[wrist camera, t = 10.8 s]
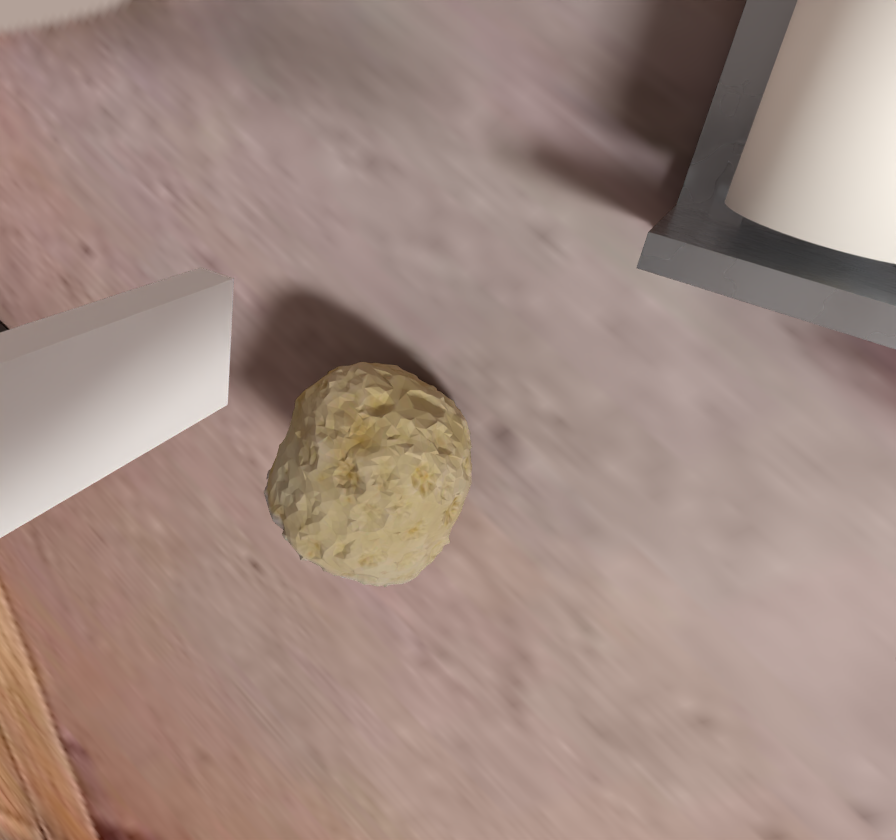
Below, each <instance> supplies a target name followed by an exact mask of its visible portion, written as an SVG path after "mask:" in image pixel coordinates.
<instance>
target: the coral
mask: <svg viewBox="0 0 896 840" xmlns="http://www.w3.org/2000/svg"><path fill="white" fill-rule="evenodd" d="M471 447H472V446H471V440H470V431H469V429H468V425H467V422H466V420H465V418H464V416H463V415H462V413H461V411H460V410H459V409H458V408H457V407H456V406H455V403H454V401H453V400H451V399H449V398H448V397H446V396H445V395H444V394H443V393H442V392H440V391H437V389H436V388H435V387H434V386H433V385H428V384H427V383H425V382H423V381H421V380H419V379H418V377H417V376H416V375H414V374H412V373H409V372H407V371H405V370H402V369H401V368H400V367H398V366H397V365H389V364H380V363H367V362H358V363H356V364H352V365H350V366H341V367H340V366H339V367H337V368H335V369H333V370H331V371H328V374H327V375H326V376H324V377H323V378H321V379H320V380H319V381H317V382H316V383H315V384H313V385H312V386H310V387H309V388H307V389H306V390H304V391H303V392H302V393H301V395H300V396H299V397H298V398H297V399H296V400H295V408H294V411H293V414H292V420H291V423H290V427H289V430H288V432H287V435H286V438H285V439H284V440H283V442H282V443H281V444H280V445H279V449H278V453H277V456H276V459H275V461H274V463H273V466H272V468H271V469H270V470H269V471H268V474H267V479H268V482H267V486H266V488H265V490H264V494H265V497H266V501H267V505H268V508H269V512H270V515H271V517H272V519H273V521H274V522H275V523H276V524H277V525H278V526H279V527H281V528H282V529H283V530H284V531H283V533H282V535H283V537H284V538H285V540H287V541H288V542H289V543H290V544H291V545H292V547H293V548H294V549H295V550H296V552H297V553H298V554H299V556H300V559H301V560H306V561H310V562H312V563H314V564H316V565H318V566H320V567H321V568H322V569H323V571H325V572H328V573H331V574H332V575H334V576H340V577H343V578H347V579H351V580H354V581H358V582H360V583H362V584H364V585H374V586H384V587H386V586H389V585H392V584H405V583H407V582H409V581H411V580H412V579H414V578H415V577H417V576H418V575H419V573H420V572H421V571H422V570H423V569H424V568H425V567H426V566H427V565H429V564H430V563H432V562H433V561H434V558H435V557H436V556H437V555H438V554H439V553H440V552H441V551H442V549H443V546H444V545H446V544H448V543H450V541H449V534H450V532H451V528H452V526H453V525H454V523H455V521H456V520H457V518H458V516H459V514H460V512H461V510H462V507H463V504H464V501H465V498H466V496H467V494H468V491H469V488H470V485H471V470H472V464H471V455H470V454H471V452H470V449H471ZM267 479H266V480H267Z"/></svg>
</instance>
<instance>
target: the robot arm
mask: <svg viewBox="0 0 896 840" xmlns="http://www.w3.org/2000/svg"><path fill="white" fill-rule="evenodd" d="M233 288H234V278H231V277H228V276H225V275H222V274H219V273H216V272H213V271H210V270H207V269H204V268H198V269H195V270H192V271H189V272H185V273H182V274H179V275H176V276H173V277H170V278H167V279H164V280H161V281H158V282H155V283H151V284H148V285H145V286H142V287H139V288H136V289H133V290H130V291H127V292H124V293H121V294H118V295H114V296H111V297H108V298H105V299H102V300H99V301H96V302H93V303H90V304H87V305H84V306H80V307H77V308H74V309H71V310H68V311H65V312H62V313H59V314H56V315H53V316H50V317H47V318H43V319H40V320H37V321H34V322H31V323H28V324H25V325H22V326H19V327H16V328H13V329H9V330H7V329H6V328H5V327H4V326H3V325H2V324H1V323H0V538H1V537H3V536H4V535H6V534H8V533H10V532H11V531H13V530H15V529H16V528H18V527H20V526H22V525H23V524H25V523H27V522H28V521H30V520H32V519H33V518H35V517H37V516H39V515H40V514H42V513H44V512H45V511H47V510H49V509H51V508H52V507H54V506H56V505H57V504H59V503H61V502H62V501H64V500H66V499H68V498H69V497H71V496H73V495H74V494H76V493H78V492H79V491H81V490H83V489H85V488H86V487H88V486H90V485H91V484H93V483H95V482H97V481H98V480H100V479H102V478H103V477H105V476H107V475H108V474H110V473H112V472H114V471H115V470H117V469H119V468H120V467H122V466H124V465H126V464H127V463H129V462H131V461H132V460H134V459H136V458H137V457H139V456H141V455H143V454H144V453H146V452H148V451H149V450H151V449H153V448H155V447H156V446H158V445H160V444H161V443H163V442H165V441H166V440H168V439H170V438H172V437H173V436H175V435H177V434H178V433H180V432H182V431H183V430H185V429H187V428H189V427H190V426H192V425H194V424H195V423H197V422H199V421H201V420H202V419H204V418H206V417H207V416H209V415H211V414H212V413H214V412H216V411H218V410H219V409H221V408H223V407H224V406H226V405H228V387H229V367H230V347H231V328H232V308H233Z"/></svg>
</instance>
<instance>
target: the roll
mask: <svg viewBox="0 0 896 840" xmlns="http://www.w3.org/2000/svg"><path fill="white" fill-rule="evenodd" d="M724 202H725V204H726V205H727V207H729V208H730V209H731V210H733V211H734V212H736V213H738V214H739V215H741V216H743V217H745V218H747V219H749V220H752V221H754V222H756V223H758V224H761V225H763V226H766V227H768V228H771V229H773V230H776V231H779V232H781V233H784V234H787V235H790V236H793V237H795V238H798V239H802V240H805V241H808V242H811V243H814V244H817V245H821V246H824V247H827V248H831V249H834V250H838V251H842V252H845V253H849V254H853V255H857V256H861V257H865V258H870V259H874V260H878V261H883V262H888V263H893V264H896V0H797V3H796V6H795V9H794V11H793V14H792V17H791V20H790V22H789V25H788V28H787V31H786V33H785V36H784V39H783V42H782V44H781V47H780V50H779V53H778V55H777V58H776V61H775V64H774V66H773V69H772V72H771V75H770V77H769V80H768V83H767V86H766V88H765V91H764V94H763V97H762V100H761V102H760V105H759V108H758V111H757V113H756V116H755V119H754V122H753V124H752V127H751V130H750V133H749V135H748V138H747V141H746V144H745V146H744V149H743V152H742V155H741V157H740V160H739V163H738V166H737V168H736V171H735V174H734V177H733V179H732V182H731V185H730V188H729V190H728V193H727V196H726V199H725V201H724Z"/></svg>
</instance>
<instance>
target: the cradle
mask: <svg viewBox="0 0 896 840" xmlns="http://www.w3.org/2000/svg"><path fill="white" fill-rule="evenodd" d="M796 3H797V0H747V2H746V4H745V7H744V10H743V13H742V16H741V19H740V22H739V25H738V28H737V31H736V34H735V36H734V39H733V42H732V45H731V48H730V51H729V54H728V57H727V60H726V63H725V65H724V68H723V71H722V74H721V77H720V80H719V83H718V86H717V89H716V92H715V95H714V97H713V100H712V103H711V106H710V109H709V112H708V115H707V118H706V121H705V124H704V127H703V129H702V132H701V135H700V138H699V141H698V144H697V147H696V150H695V153H694V156H693V159H692V161H691V164H690V167H689V170H688V173H687V176H686V179H685V182H684V185H683V188H682V191H681V193H680V196H679V199H678V202H677V205H676V206H675V207H674V208H673V209H672V210H671V211H670V212H669V213H668V214H667V215H665V216H664V217H663V218H662V219H661V220H660V221H659V222H658V223H657V224H656V225H655V226H654V227H653V228H652V229H651V230H650V231H649V232H648V235H647V238H646V241H645V244H644V247H643V250H642V253H641V256H640V259H639V262H638V265H637V268H638V269H641V270H645V271H648V272H651V273H654V274H657V275H660V276H664V277H667V278H670V279H673V280H676V281H680V282H683V283H686V284H689V285H692V286H696V287H699V288H702V289H705V290H708V291H711V292H715V293H718V294H721V295H724V296H727V297H731V298H734V299H737V300H740V301H743V302H747V303H750V304H753V305H756V306H759V307H762V308H766V309H769V310H772V311H775V312H778V313H782V314H785V315H788V316H791V317H794V318H798V319H801V320H804V321H807V322H810V323H813V324H817V325H820V326H823V327H826V328H829V329H833V330H836V331H839V332H842V333H845V334H849V335H852V336H855V337H858V338H861V339H864V340H868V341H871V342H874V343H877V344H880V345H884V346H887V347H890V348H893V349H896V264H893V263H888V262H883V261H878V260H874V259H870V258H865V257H861V256H857V255H853V254H849V253H845V252H842V251H838V250H834V249H831V248H827V247H824V246H821V245H817V244H814V243H811V242H808V241H805V240H802V239H798V238H795V237H793V236H790V235H787V234H784V233H781V232H779V231H776V230H773V229H771V228H768V227H766V226H763V225H761V224H758V223H756V222H754V221H752V220H749V219H747V218H745V217H743V216H741V215H739V214H738V213H736V212H734V211H733V210H731V209H730V208H729V207H727V205H726V204H725V202H724V201H725V199H726V196H727V193H728V190H729V188H730V185H731V182H732V179H733V177H734V174H735V171H736V168H737V166H738V163H739V160H740V157H741V155H742V152H743V149H744V146H745V144H746V141H747V138H748V135H749V133H750V130H751V127H752V124H753V122H754V119H755V116H756V113H757V111H758V108H759V105H760V102H761V100H762V97H763V94H764V91H765V88H766V86H767V83H768V80H769V77H770V75H771V72H772V69H773V66H774V64H775V61H776V58H777V55H778V53H779V50H780V47H781V44H782V42H783V39H784V36H785V33H786V31H787V28H788V25H789V22H790V20H791V17H792V14H793V11H794V9H795V6H796Z"/></svg>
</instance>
